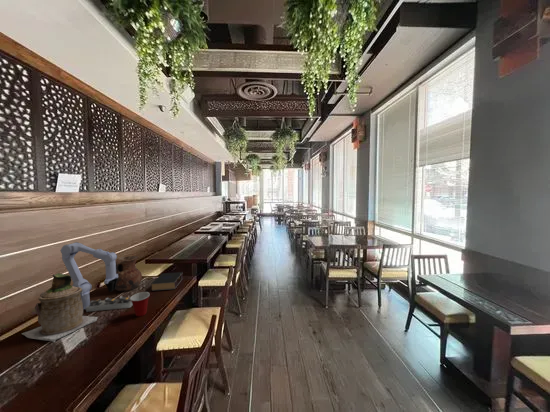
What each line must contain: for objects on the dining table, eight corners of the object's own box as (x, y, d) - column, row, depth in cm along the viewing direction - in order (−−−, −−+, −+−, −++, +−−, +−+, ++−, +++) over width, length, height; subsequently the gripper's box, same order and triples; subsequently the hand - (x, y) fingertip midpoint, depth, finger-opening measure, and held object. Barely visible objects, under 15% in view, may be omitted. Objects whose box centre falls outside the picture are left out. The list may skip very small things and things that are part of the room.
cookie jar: (99, 319, 145) (96, 267, 143) (52, 344, 121) (48, 281, 120) (69, 315, 151) (66, 265, 150) (19, 338, 128) (14, 278, 126)
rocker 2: (104, 302, 158) (105, 299, 158) (107, 300, 161) (107, 297, 161) (112, 303, 158) (113, 300, 158) (115, 301, 162) (115, 298, 162)
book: (183, 279, 214) (182, 272, 214) (175, 290, 189) (174, 281, 189) (162, 280, 212) (162, 273, 211) (151, 291, 187) (151, 283, 187)
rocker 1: (90, 305, 156) (89, 302, 156) (93, 303, 159) (92, 300, 159) (98, 303, 157) (97, 300, 157) (101, 301, 160) (100, 297, 160)
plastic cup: (128, 320, 143) (127, 300, 143) (134, 311, 154) (133, 293, 153) (148, 317, 146) (147, 297, 145) (152, 309, 156) (151, 291, 156)
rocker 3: (118, 301, 159) (119, 298, 159) (120, 299, 162) (121, 295, 162) (126, 302, 160) (127, 299, 160) (128, 300, 163) (129, 297, 163)
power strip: (86, 312, 155) (85, 304, 155) (93, 306, 163) (92, 299, 163) (130, 307, 160) (129, 300, 159) (134, 302, 167) (134, 295, 167)
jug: (117, 285, 202) (115, 256, 202) (144, 282, 209) (143, 253, 208) (107, 295, 181) (105, 262, 180) (138, 291, 188) (137, 259, 187)
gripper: (112, 273, 156) (113, 294, 156) (122, 267, 170) (123, 286, 171) (100, 274, 155) (101, 295, 155) (111, 268, 169) (112, 287, 169)
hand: (112, 290), depth 163 cm, fingers open, 3 cm apart
